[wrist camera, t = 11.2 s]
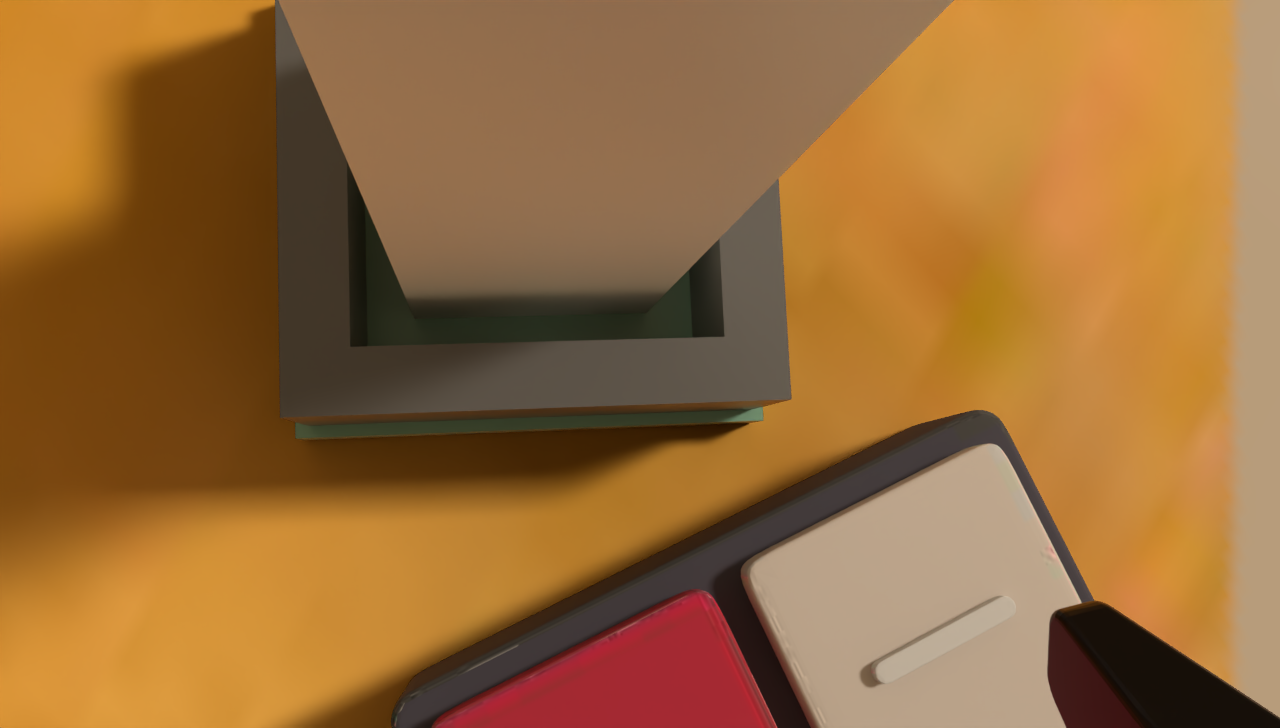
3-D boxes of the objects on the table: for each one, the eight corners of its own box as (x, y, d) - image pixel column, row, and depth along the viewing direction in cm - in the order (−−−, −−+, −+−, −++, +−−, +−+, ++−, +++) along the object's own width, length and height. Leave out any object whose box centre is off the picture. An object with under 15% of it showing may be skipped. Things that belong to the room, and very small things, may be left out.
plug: (645, 312, 19) (1094, -144, 5) (414, 318, 18) (201, -181, 4) (635, 93, 19) (1025, -894, 5) (408, 91, 19) (194, -1017, 5)
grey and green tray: (752, 423, 20) (804, 411, 17) (303, 440, 19) (265, 432, 16) (729, 5, 21) (775, -83, 17) (297, -3, 20) (259, -100, 16)
